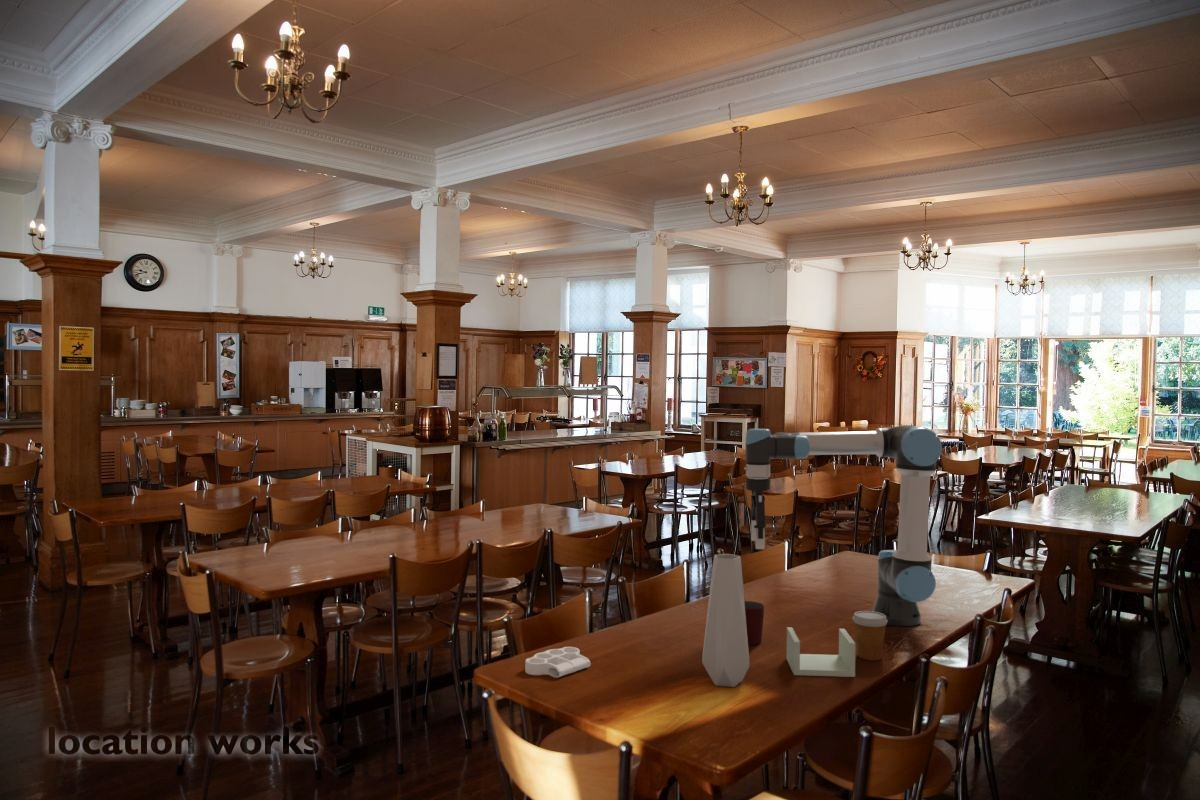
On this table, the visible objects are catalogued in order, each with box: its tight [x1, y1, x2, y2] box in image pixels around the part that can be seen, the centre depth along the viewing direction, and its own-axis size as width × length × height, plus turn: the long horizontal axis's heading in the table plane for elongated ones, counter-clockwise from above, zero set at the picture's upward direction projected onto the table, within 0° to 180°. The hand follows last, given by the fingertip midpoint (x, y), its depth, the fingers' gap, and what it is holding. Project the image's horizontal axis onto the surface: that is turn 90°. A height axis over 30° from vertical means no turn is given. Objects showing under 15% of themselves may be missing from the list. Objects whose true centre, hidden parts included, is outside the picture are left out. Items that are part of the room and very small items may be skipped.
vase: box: [701, 553, 750, 688], centre depth 213 cm, size 12×12×33 cm
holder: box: [786, 626, 856, 678], centre depth 224 cm, size 16×13×9 cm
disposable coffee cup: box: [852, 610, 888, 661], centre depth 234 cm, size 10×10×12 cm
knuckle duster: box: [524, 646, 592, 679], centre depth 224 cm, size 3×18×15 cm
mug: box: [744, 600, 765, 646], centre depth 246 cm, size 12×9×11 cm
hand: (757, 544), depth 258 cm, fingers open, 13 cm apart
